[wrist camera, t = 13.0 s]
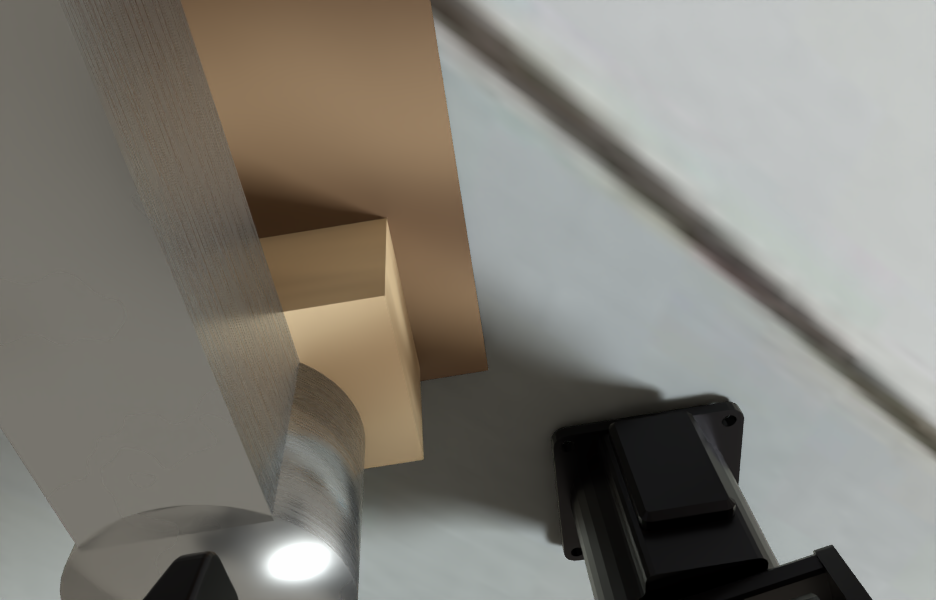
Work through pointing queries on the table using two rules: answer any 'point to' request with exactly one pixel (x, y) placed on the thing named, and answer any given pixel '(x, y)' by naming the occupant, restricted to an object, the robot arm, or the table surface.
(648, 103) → the table surface
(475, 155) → the table surface
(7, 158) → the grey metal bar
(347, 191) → the rack
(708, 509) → the robot arm
